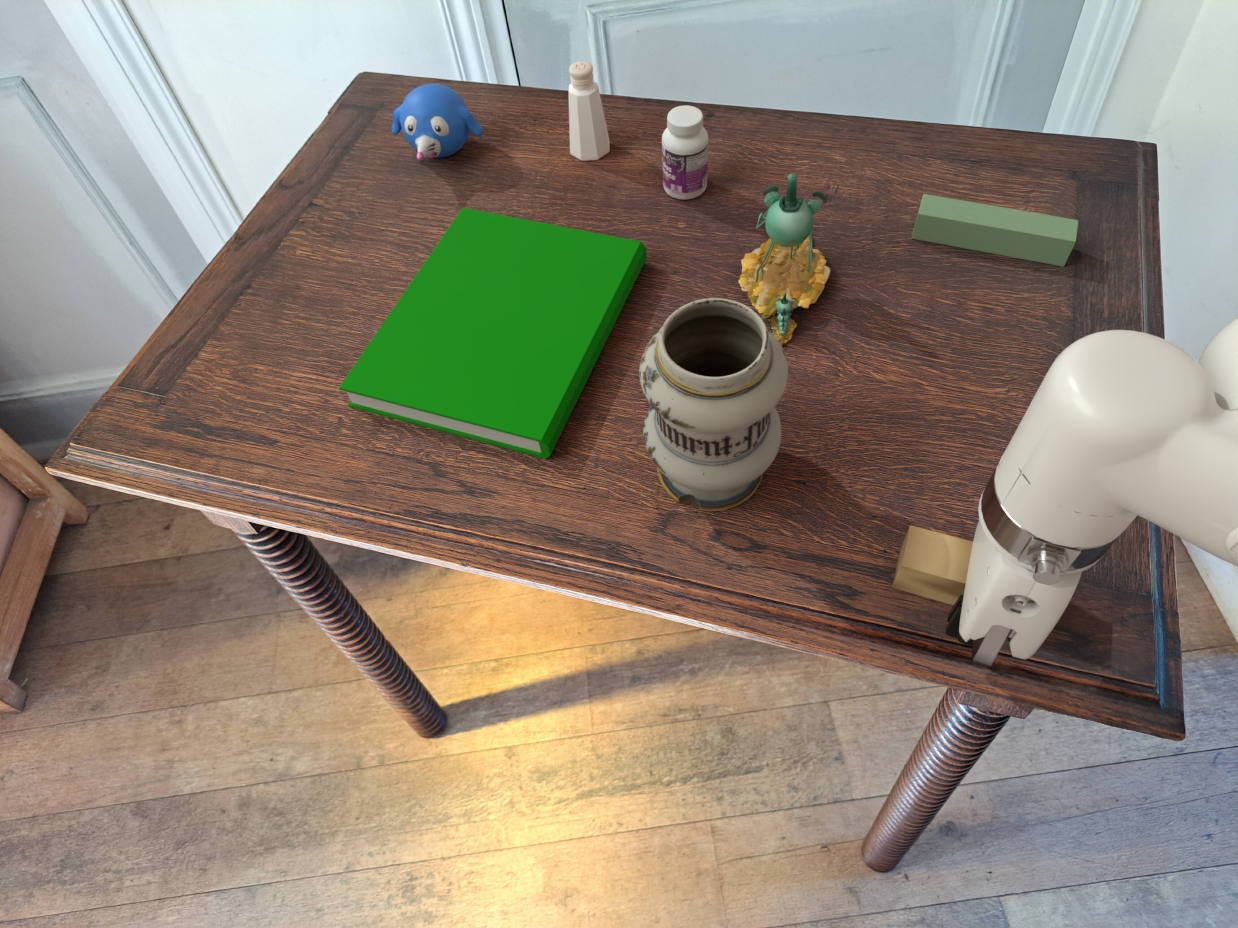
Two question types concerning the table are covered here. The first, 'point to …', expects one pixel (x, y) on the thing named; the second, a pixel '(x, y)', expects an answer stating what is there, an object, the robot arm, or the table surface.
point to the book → (498, 331)
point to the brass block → (933, 565)
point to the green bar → (995, 230)
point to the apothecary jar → (713, 402)
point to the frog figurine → (785, 260)
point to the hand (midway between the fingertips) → (966, 631)
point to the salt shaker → (586, 115)
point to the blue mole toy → (434, 121)
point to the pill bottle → (685, 153)
